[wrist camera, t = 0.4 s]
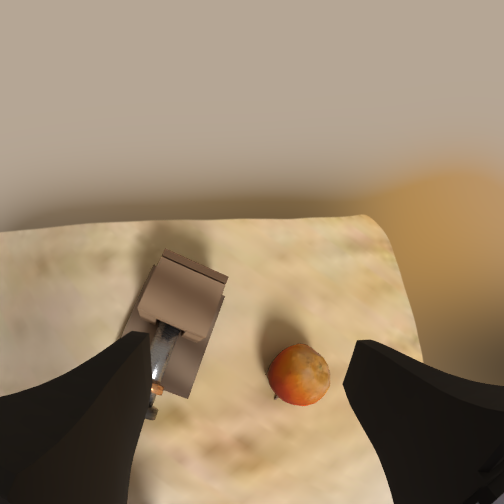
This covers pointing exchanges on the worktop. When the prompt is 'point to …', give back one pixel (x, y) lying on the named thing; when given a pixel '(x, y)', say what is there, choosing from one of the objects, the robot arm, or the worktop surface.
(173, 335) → the shaft
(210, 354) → the worktop surface
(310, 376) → the fruit
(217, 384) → the worktop surface
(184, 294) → the bearing housing
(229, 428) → the worktop surface
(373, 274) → the worktop surface
